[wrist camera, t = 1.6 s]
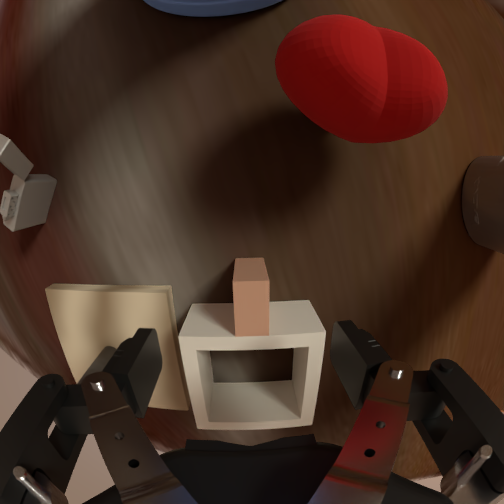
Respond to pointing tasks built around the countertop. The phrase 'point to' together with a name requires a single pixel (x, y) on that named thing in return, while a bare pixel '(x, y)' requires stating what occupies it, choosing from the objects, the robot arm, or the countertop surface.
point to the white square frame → (252, 338)
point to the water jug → (209, 6)
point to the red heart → (361, 79)
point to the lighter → (24, 190)
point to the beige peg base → (119, 331)
